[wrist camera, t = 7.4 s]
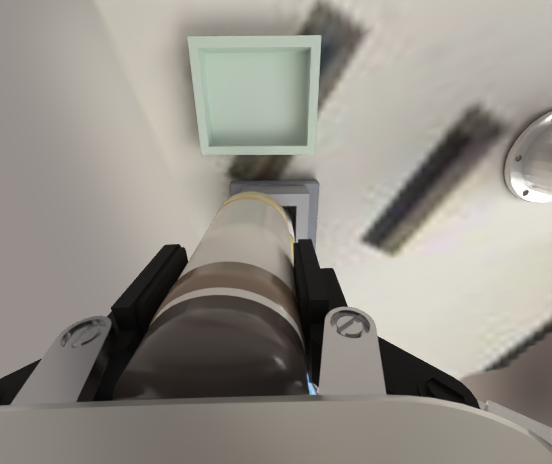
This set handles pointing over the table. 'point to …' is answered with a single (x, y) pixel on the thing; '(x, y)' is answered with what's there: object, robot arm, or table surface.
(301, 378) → the fuse
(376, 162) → the table surface
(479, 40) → the table surface
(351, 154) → the table surface
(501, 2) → the table surface
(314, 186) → the panel
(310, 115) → the parts tray
